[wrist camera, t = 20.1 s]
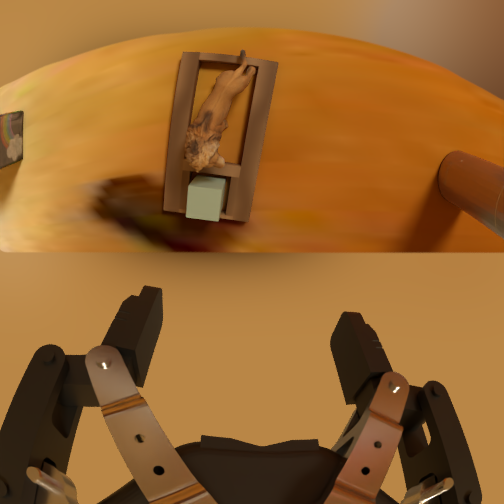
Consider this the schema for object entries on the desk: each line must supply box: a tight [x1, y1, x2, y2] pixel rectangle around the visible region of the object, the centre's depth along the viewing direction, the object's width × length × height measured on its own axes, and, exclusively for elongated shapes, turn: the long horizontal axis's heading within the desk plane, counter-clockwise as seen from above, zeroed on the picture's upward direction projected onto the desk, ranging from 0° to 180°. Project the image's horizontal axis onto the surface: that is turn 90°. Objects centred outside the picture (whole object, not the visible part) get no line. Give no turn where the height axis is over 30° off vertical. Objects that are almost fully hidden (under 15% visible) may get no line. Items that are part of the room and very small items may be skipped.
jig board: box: [164, 52, 278, 222], centre depth 33 cm, size 12×22×2 cm, turn 170°
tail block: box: [186, 175, 226, 221], centre depth 35 cm, size 4×4×6 cm
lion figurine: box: [184, 50, 256, 173], centre depth 28 cm, size 15×5×9 cm, turn 161°
